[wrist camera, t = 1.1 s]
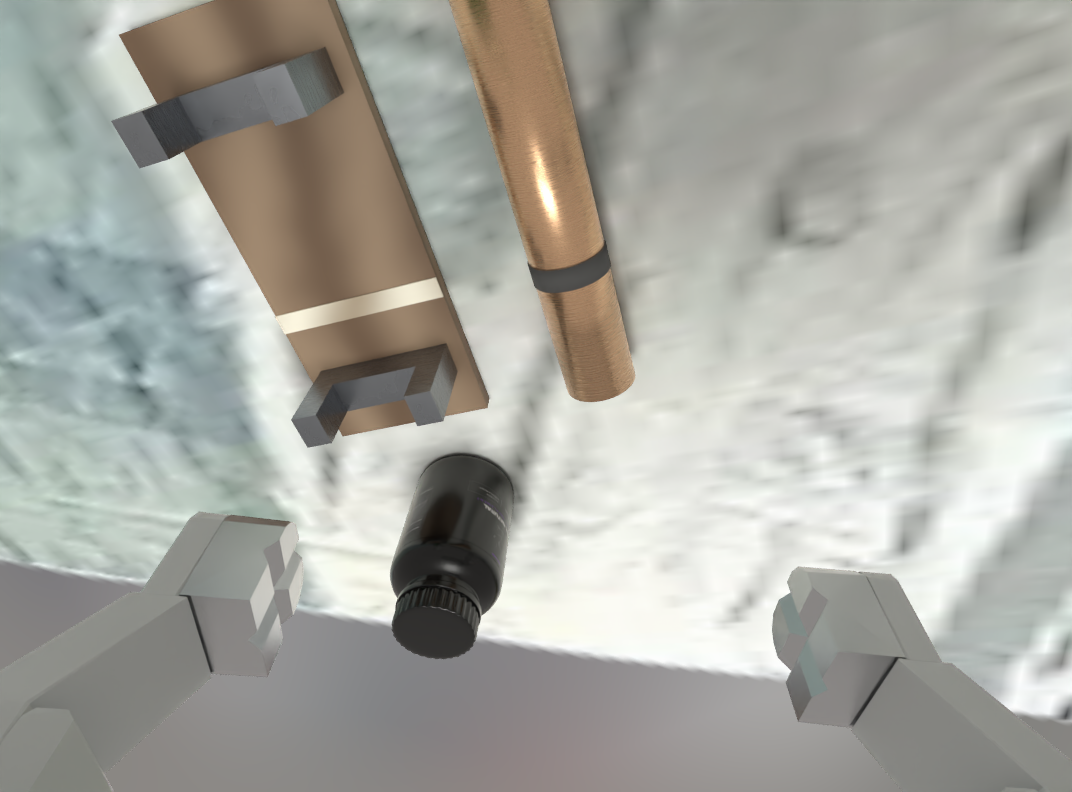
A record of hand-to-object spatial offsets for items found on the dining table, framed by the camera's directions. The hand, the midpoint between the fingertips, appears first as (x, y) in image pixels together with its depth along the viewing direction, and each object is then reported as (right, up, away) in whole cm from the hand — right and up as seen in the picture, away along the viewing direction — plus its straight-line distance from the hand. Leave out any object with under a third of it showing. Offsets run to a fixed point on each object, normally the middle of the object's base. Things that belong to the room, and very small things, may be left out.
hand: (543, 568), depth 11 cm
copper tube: (0, +14, +23) cm, 27 cm away
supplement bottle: (-5, -4, +36) cm, 36 cm away
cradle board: (-11, +11, +26) cm, 30 cm away
